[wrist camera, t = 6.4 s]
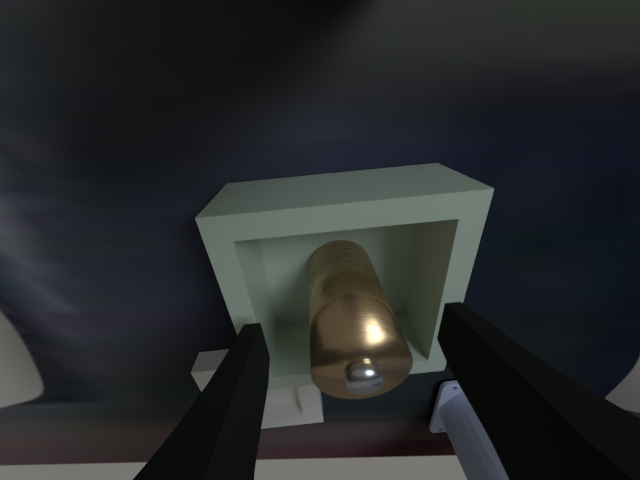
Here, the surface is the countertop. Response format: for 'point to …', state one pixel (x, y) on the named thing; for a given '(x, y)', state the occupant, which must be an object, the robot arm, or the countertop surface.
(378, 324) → the cell
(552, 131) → the countertop surface
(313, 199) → the grey-green square tray
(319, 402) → the white square recessed tray
